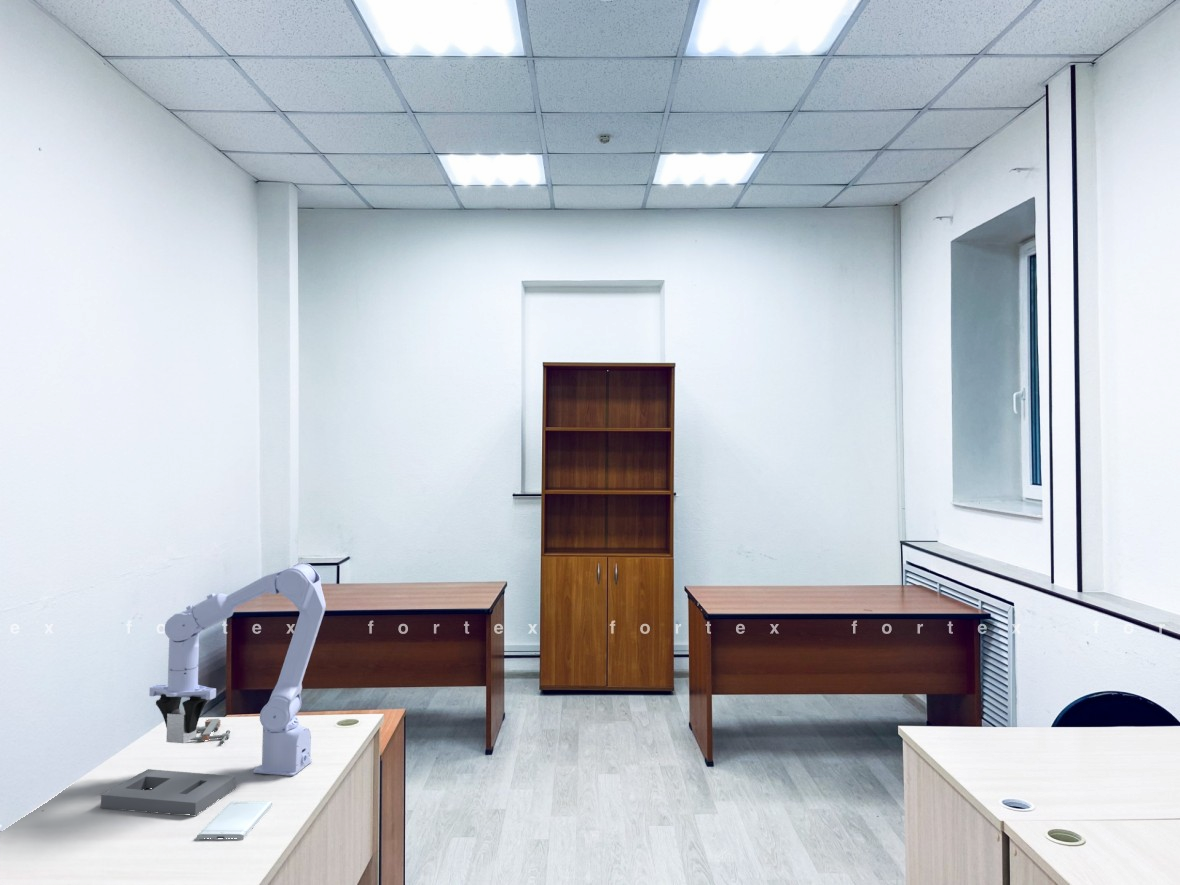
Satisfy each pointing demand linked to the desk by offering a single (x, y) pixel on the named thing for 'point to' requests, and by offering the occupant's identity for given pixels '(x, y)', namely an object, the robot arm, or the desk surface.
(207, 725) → the clamp
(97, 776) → the desk surface
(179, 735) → the square bit
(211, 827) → the hard drive
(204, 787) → the plate
